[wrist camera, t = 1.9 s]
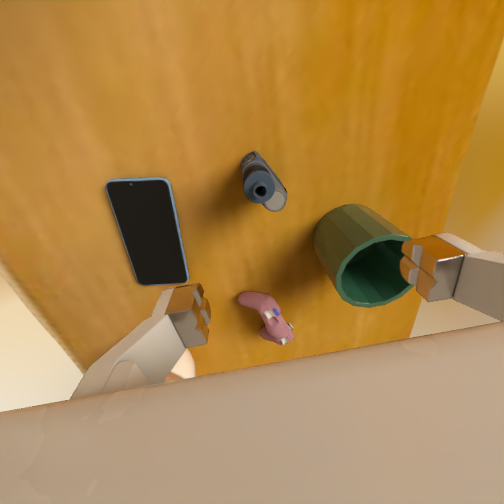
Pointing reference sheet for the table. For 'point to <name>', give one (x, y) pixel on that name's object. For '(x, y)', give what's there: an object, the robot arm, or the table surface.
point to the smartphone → (149, 229)
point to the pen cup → (361, 255)
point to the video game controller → (268, 317)
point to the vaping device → (262, 183)
